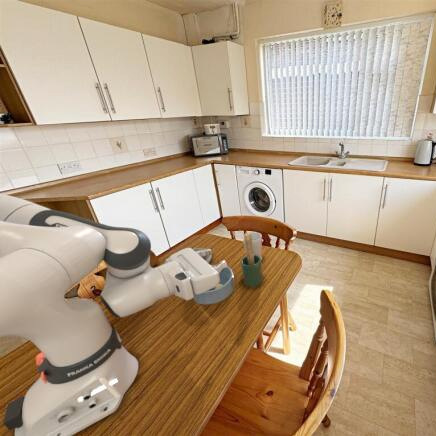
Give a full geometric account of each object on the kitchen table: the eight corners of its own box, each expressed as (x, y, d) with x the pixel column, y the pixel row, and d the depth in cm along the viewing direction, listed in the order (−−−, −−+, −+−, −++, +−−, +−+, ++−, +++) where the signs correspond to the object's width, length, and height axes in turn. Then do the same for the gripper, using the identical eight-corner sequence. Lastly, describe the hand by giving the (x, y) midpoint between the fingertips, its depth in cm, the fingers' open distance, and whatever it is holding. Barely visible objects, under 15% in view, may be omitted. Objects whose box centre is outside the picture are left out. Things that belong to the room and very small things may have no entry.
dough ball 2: (215, 294, 83) (217, 286, 83) (213, 291, 86) (214, 283, 85) (224, 293, 85) (225, 285, 85) (221, 290, 87) (222, 282, 87)
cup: (260, 266, 100) (258, 242, 95) (242, 265, 101) (239, 240, 96) (266, 256, 107) (264, 232, 102) (249, 254, 108) (246, 231, 103)
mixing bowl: (204, 313, 78) (200, 299, 75) (184, 291, 88) (180, 278, 85) (243, 289, 88) (241, 276, 85) (221, 272, 98) (219, 259, 95)
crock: (251, 291, 87) (248, 268, 83) (240, 282, 91) (237, 260, 87) (266, 281, 91) (264, 259, 87) (255, 273, 96) (252, 252, 92)
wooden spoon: (252, 282, 90) (246, 236, 82) (249, 280, 91) (243, 234, 83) (257, 279, 91) (252, 233, 83) (254, 277, 93) (248, 231, 84)
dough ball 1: (204, 286, 86) (210, 290, 85) (209, 278, 87) (215, 283, 85) (208, 287, 88) (214, 291, 87) (213, 280, 89) (219, 284, 88)
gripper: (163, 270, 75) (204, 252, 84) (191, 304, 62) (236, 279, 71) (158, 253, 73) (201, 237, 81) (186, 285, 59) (234, 261, 68)
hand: (218, 256), depth 76 cm, fingers open, 8 cm apart
